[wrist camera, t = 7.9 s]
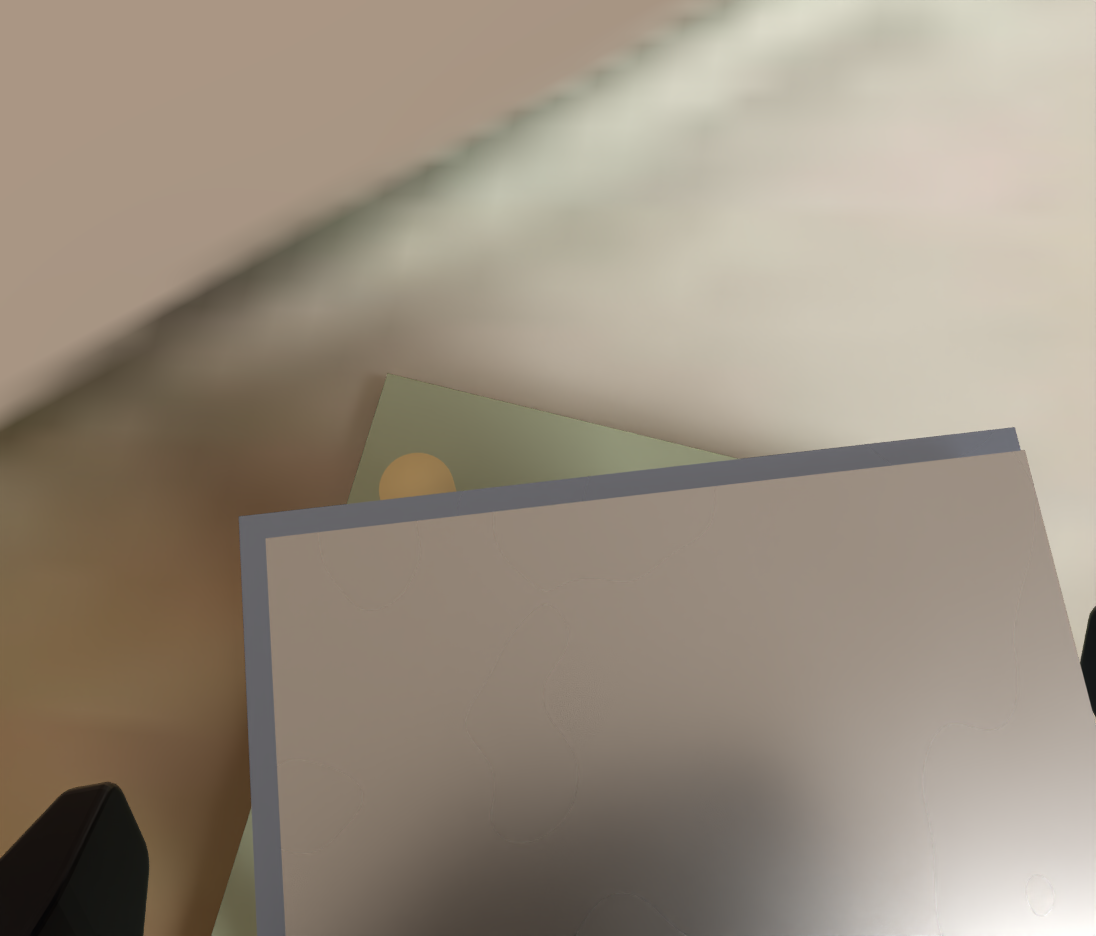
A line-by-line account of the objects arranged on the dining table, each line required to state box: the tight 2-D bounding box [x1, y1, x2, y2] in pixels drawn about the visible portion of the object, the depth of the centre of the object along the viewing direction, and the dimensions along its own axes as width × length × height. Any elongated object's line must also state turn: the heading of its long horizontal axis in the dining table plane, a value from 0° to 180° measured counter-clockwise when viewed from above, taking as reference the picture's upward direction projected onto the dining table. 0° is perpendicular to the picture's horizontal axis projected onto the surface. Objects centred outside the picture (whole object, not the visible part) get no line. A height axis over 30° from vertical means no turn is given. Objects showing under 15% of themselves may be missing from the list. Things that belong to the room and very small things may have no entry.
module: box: [239, 427, 1096, 936], centre depth 11 cm, size 5×5×13 cm
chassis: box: [211, 373, 738, 936], centre depth 17 cm, size 13×11×4 cm
